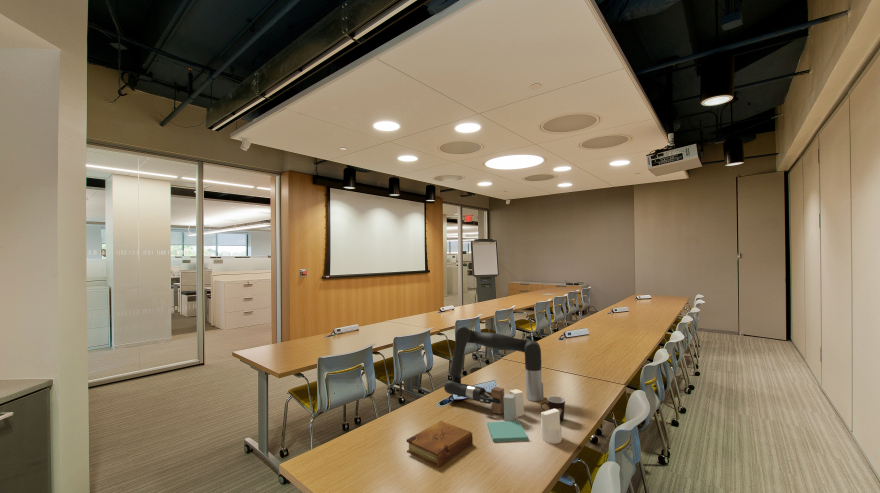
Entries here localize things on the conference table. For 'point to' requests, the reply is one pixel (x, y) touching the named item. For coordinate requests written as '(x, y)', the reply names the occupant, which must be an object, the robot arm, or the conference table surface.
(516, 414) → the off-white brick
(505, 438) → the teal board
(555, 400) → the coffee mug
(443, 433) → the diary
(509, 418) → the grey brick
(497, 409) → the walnut brick
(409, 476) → the conference table surface
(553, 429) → the base with upright slab
